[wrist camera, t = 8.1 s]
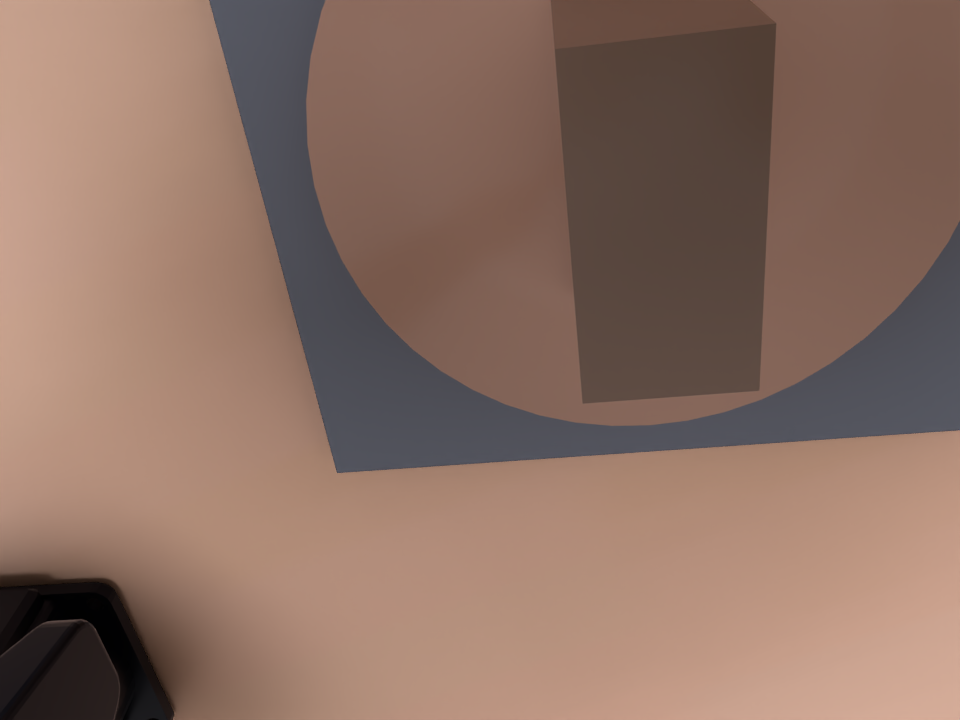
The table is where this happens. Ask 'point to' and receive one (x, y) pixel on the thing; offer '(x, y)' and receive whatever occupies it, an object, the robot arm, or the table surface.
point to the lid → (635, 187)
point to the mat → (478, 418)
